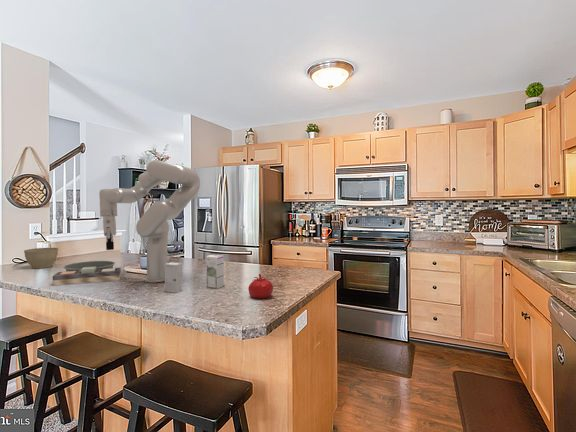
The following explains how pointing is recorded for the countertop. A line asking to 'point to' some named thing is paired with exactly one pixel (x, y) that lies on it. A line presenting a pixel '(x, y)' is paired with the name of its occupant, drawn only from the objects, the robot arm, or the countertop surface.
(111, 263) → the cake pan
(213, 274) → the syrup box
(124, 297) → the countertop surface
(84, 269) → the key middle
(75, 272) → the key
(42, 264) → the planter bowl
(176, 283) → the skincare box
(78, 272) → the keypad
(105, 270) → the key
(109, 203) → the robot arm
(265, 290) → the pomegranate
